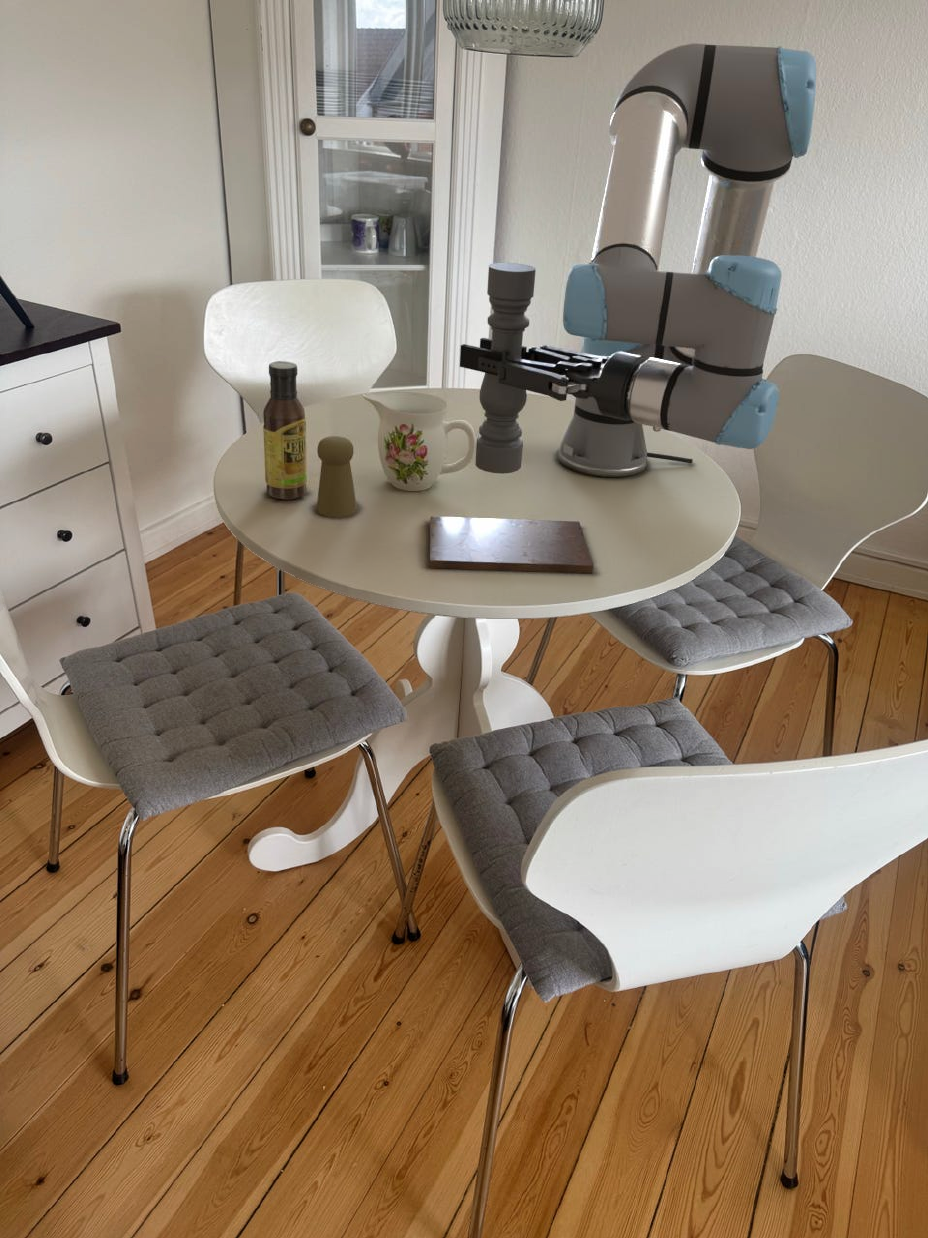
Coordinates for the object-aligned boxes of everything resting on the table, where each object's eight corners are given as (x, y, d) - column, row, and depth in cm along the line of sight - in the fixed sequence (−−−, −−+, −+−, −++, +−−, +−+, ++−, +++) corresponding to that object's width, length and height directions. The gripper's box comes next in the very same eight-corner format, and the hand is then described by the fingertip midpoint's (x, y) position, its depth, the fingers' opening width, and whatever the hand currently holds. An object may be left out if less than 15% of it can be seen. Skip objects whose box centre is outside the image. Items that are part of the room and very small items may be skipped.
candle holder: (504, 453, 125) (518, 261, 113) (530, 468, 121) (548, 270, 108) (466, 460, 122) (476, 263, 110) (491, 476, 118) (505, 273, 105)
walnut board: (578, 528, 135) (579, 521, 135) (592, 573, 123) (593, 565, 123) (430, 523, 134) (430, 516, 133) (429, 568, 122) (430, 560, 121)
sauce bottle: (290, 505, 137) (283, 373, 127) (257, 495, 139) (248, 365, 129) (316, 491, 142) (312, 363, 132) (284, 482, 144) (278, 356, 134)
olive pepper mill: (335, 521, 133) (333, 449, 127) (307, 508, 136) (305, 437, 131) (365, 509, 137) (365, 439, 132) (337, 497, 140) (336, 428, 135)
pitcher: (469, 502, 141) (474, 416, 134) (355, 491, 143) (354, 405, 136) (477, 476, 151) (482, 394, 144) (370, 465, 152) (370, 384, 145)
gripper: (603, 439, 102) (432, 395, 113) (662, 404, 114) (503, 367, 125) (612, 372, 98) (434, 333, 109) (672, 343, 111) (508, 311, 121)
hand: (471, 351), depth 117 cm, fingers closed on candle holder, 4 cm apart
